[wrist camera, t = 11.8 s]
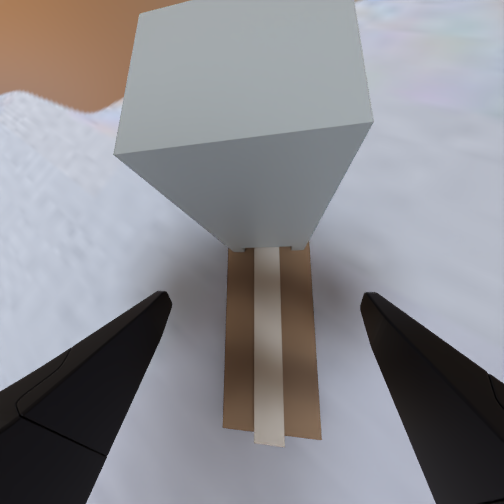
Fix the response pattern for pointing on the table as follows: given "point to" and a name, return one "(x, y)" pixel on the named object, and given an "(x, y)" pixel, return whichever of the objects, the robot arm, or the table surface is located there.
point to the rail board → (271, 346)
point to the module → (247, 113)
